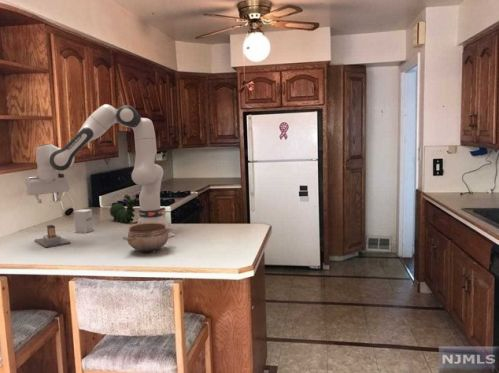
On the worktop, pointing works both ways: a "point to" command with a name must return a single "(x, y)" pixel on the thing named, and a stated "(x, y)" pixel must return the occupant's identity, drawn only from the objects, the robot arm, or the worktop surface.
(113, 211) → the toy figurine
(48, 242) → the base
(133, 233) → the cooking pot
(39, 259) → the worktop surface
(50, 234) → the brown wooden block
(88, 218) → the supplement box
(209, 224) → the worktop surface
